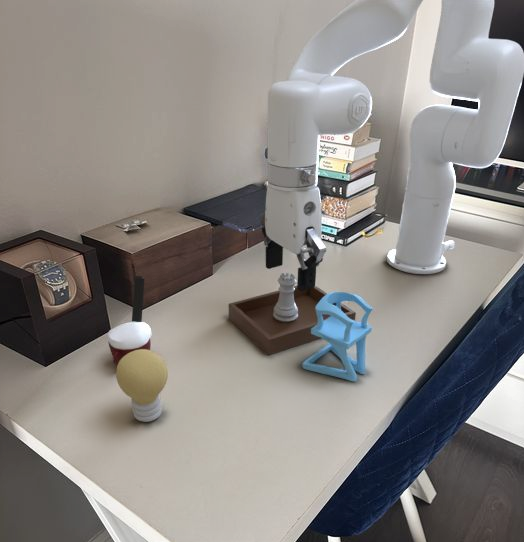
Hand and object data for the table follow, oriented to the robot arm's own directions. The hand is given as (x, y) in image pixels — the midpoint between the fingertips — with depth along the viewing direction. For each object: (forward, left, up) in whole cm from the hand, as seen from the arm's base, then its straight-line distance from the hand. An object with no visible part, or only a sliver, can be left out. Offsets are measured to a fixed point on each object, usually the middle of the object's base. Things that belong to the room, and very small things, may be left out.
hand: (289, 277), depth 86 cm
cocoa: (+28, -2, -9) cm, 29 cm away
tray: (0, +1, -8) cm, 8 cm away
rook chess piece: (+1, 0, -8) cm, 8 cm away
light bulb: (+31, +12, -9) cm, 34 cm away
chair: (+1, +16, -9) cm, 18 cm away
